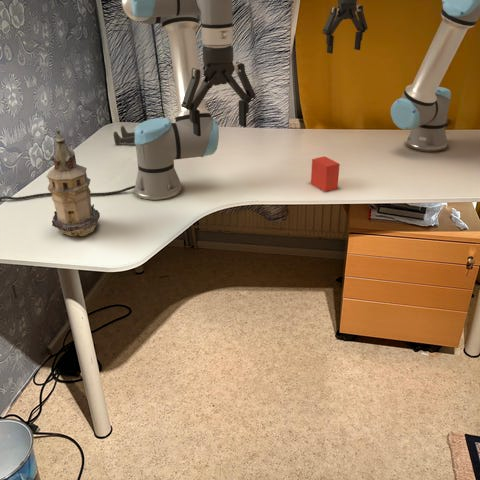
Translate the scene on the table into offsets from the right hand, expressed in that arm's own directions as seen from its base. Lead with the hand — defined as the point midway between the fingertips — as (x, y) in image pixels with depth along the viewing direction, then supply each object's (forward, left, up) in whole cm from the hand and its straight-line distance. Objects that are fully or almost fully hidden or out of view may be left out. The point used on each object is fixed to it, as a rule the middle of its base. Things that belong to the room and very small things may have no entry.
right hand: (343, 51), depth 212 cm
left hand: (+90, +35, -4) cm, 97 cm away
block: (+46, +34, -33) cm, 66 cm away
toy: (+66, -42, -33) cm, 85 cm away
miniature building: (+122, +8, -33) cm, 126 cm away
